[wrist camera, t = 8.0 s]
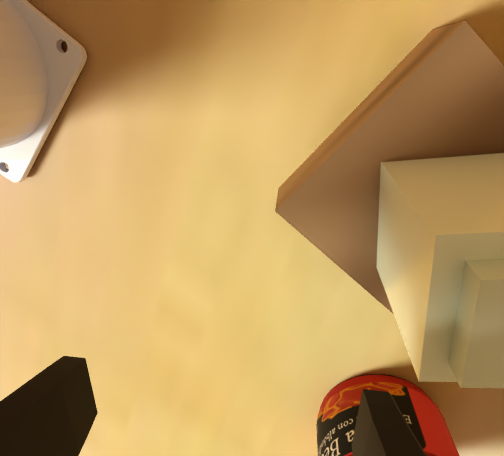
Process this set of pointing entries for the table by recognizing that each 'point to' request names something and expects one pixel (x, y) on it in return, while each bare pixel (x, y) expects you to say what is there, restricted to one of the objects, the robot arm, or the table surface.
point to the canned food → (408, 401)
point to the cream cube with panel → (446, 264)
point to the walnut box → (396, 145)
